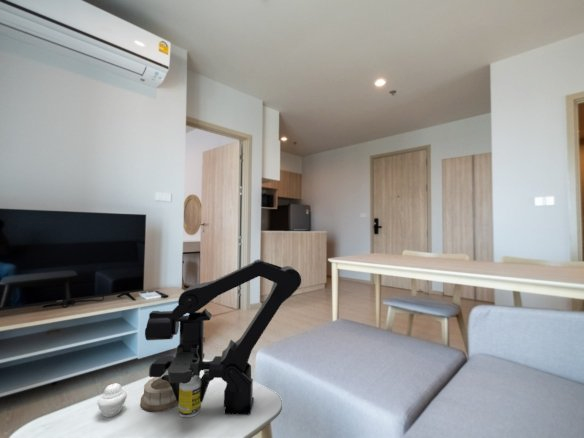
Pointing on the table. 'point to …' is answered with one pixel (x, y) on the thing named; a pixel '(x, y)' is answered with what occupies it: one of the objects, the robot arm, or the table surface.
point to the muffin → (112, 400)
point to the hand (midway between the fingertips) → (190, 400)
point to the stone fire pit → (158, 396)
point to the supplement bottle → (190, 397)
